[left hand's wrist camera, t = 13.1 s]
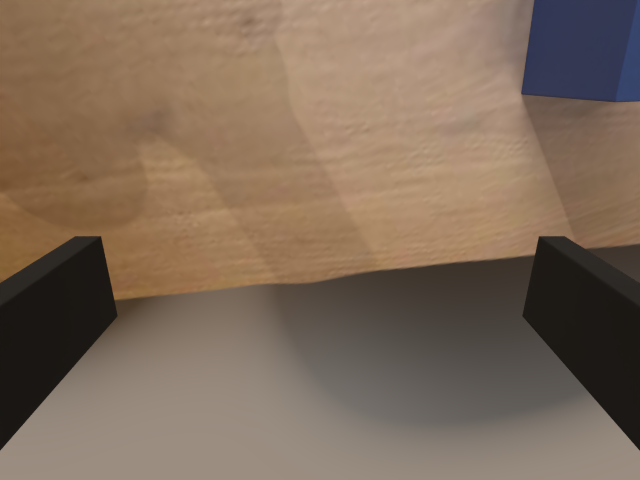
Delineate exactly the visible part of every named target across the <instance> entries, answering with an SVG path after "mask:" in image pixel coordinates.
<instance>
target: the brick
mask: <svg viewBox="0 0 640 480" xmlns="http://www.w3.org/2000/svg"><path fill="white" fill-rule="evenodd" d="M522 94H523V95H535V96H548V97H560V98H572V99H584V100H596V101H608V102H631V101H640V0H535V1H534V8H533V16H532V23H531V30H530V37H529V44H528V51H527V58H526V65H525V72H524V79H523V86H522Z"/></svg>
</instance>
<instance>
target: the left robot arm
mask: <svg viewBox="0 0 640 480" xmlns="http://www.w3.org/2000/svg"><path fill="white" fill-rule="evenodd" d="M116 317H117V311H116V306H115V301H114V297H113V292H112V287H111V282H110V277H109V273H108V268H107V263H106V258H105V254H104V249H103V244H102V239H101V236H75V237H74V238H72V239H70V240H69V241H67V242H66V243H64V244H62V245H61V246H59V247H58V248H56V249H54V250H53V251H51V252H50V253H48V254H46V255H45V256H43V257H42V258H40V259H38V260H37V261H35V262H33V263H32V264H30V265H29V266H27V267H25V268H24V269H22V270H21V271H19V272H17V273H16V274H14V275H13V276H11V277H9V278H8V279H6V280H5V281H3V282H1V283H0V450H1V449H2V448H3V447H4V446H5V444H6V443H7V442H8V441H9V440H10V439H11V438H12V436H13V435H14V434H15V433H16V432H17V431H18V430H19V428H20V427H21V426H22V425H23V424H24V423H25V421H26V420H27V419H28V418H29V417H30V416H31V415H32V413H33V412H34V411H35V410H36V409H37V408H38V407H39V405H40V404H41V403H42V402H43V401H44V400H45V399H46V397H47V396H48V395H49V394H50V393H51V392H52V391H53V389H54V388H55V387H56V386H57V385H58V384H59V383H60V381H61V380H62V379H63V378H64V377H65V376H66V375H67V373H68V372H69V371H70V370H71V369H72V368H73V367H74V365H75V364H76V363H77V362H78V361H79V360H80V358H81V357H82V356H83V355H84V354H85V353H86V352H87V350H88V349H89V348H90V347H91V346H92V345H93V344H94V342H95V341H96V340H97V339H98V338H99V337H100V336H101V334H102V333H103V332H104V331H105V330H106V329H107V328H108V326H109V325H110V324H111V323H112V322H113V321H114V320H115V318H116ZM523 317H524V318H525V319H526V321H527V322H528V323H529V324H530V325H531V326H532V328H533V329H534V330H535V331H536V332H537V333H538V334H539V336H540V337H541V338H542V339H543V340H544V341H545V342H546V344H547V345H548V346H549V347H550V348H551V349H552V350H553V352H554V353H555V354H556V355H557V356H558V357H559V358H560V360H561V361H562V362H563V363H564V364H565V365H566V367H567V368H568V369H569V370H570V371H571V372H572V373H573V375H574V376H575V377H576V378H577V379H578V380H579V381H580V383H581V384H582V385H583V386H584V387H585V388H586V389H587V391H588V392H589V393H590V394H591V395H592V396H593V397H594V399H595V400H596V401H597V402H598V403H599V404H600V405H601V407H602V408H603V409H604V410H605V411H606V412H607V413H608V415H609V416H610V417H611V418H612V419H613V420H614V422H615V423H616V424H617V425H618V426H619V427H620V428H621V429H622V431H623V432H624V433H625V434H626V435H627V436H628V438H629V439H630V440H631V441H632V442H633V443H634V444H635V446H636V447H637V448H638V449H639V450H640V283H639V282H637V281H635V280H634V279H632V278H631V277H629V276H627V275H626V274H624V273H623V272H621V271H619V270H618V269H616V268H615V267H613V266H611V265H610V264H608V263H607V262H605V261H603V260H602V259H600V258H598V257H597V256H595V255H594V254H592V253H590V252H589V251H587V250H586V249H584V248H582V247H581V246H579V245H578V244H576V243H574V242H573V241H571V240H570V239H568V238H566V237H565V236H539V239H538V244H537V249H536V254H535V258H534V263H533V268H532V273H531V278H530V282H529V287H528V292H527V297H526V301H525V306H524V311H523Z"/></svg>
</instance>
